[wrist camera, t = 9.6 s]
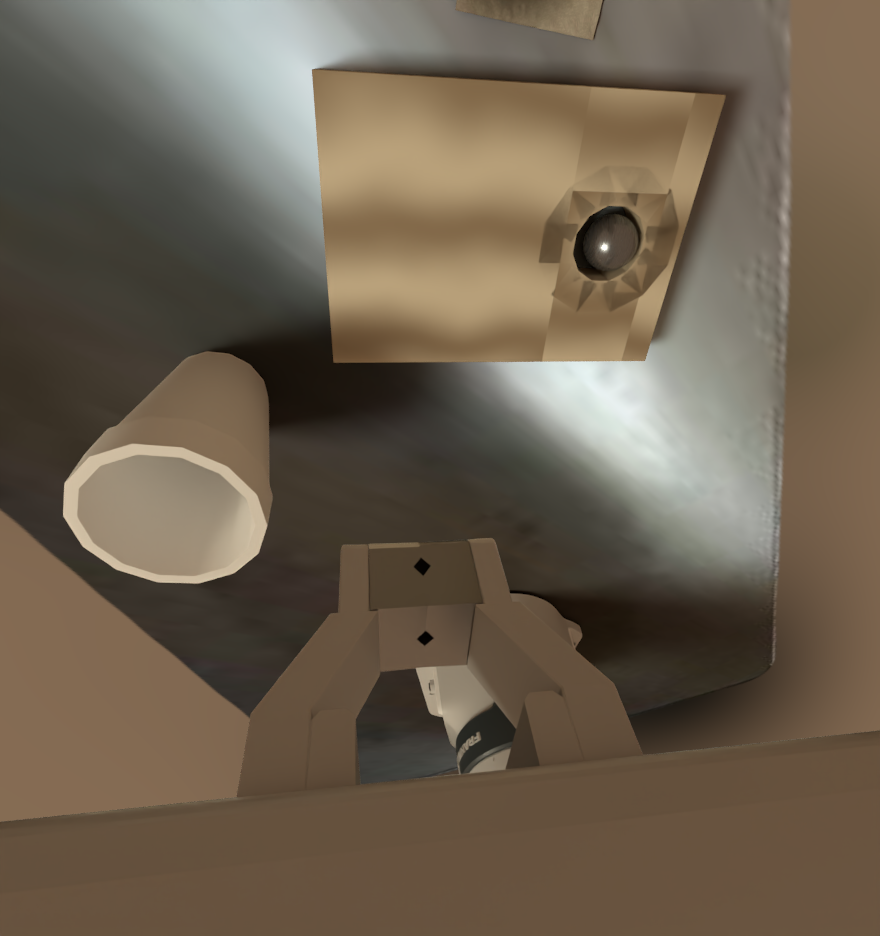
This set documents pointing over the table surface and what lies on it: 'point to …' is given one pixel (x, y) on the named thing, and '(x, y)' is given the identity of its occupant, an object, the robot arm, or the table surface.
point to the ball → (610, 242)
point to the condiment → (541, 14)
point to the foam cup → (180, 477)
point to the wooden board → (498, 213)
